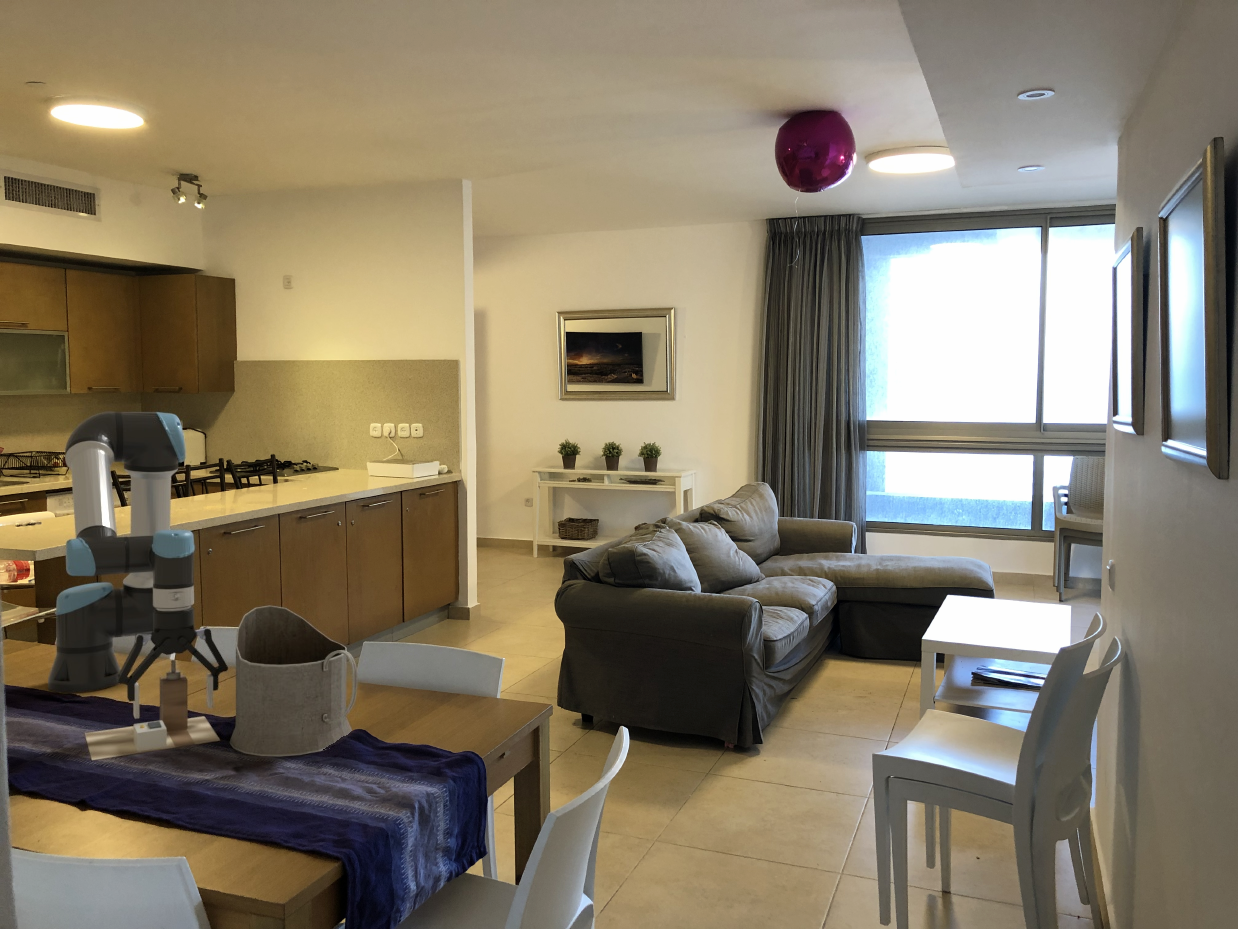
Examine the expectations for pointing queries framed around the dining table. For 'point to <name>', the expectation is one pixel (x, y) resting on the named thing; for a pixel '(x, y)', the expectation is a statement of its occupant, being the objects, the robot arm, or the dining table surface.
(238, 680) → the pitcher
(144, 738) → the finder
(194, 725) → the subfloor panel
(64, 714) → the dining table surface
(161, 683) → the brown upright block
